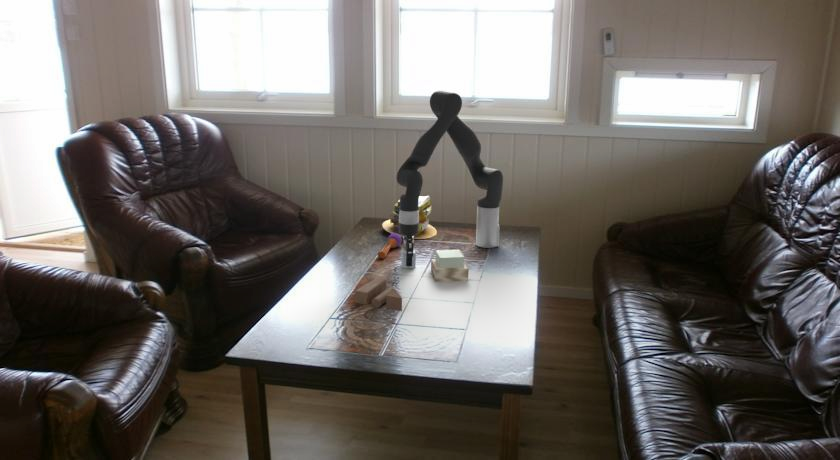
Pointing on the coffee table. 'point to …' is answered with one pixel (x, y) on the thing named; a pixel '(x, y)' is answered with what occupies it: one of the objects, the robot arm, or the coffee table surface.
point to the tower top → (449, 259)
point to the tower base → (448, 273)
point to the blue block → (403, 259)
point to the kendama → (390, 244)
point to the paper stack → (424, 226)
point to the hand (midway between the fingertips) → (408, 263)
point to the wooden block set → (378, 294)
